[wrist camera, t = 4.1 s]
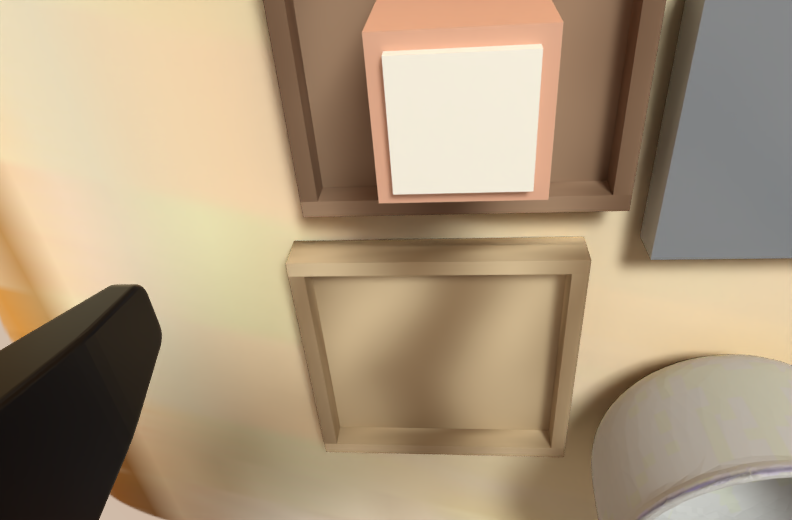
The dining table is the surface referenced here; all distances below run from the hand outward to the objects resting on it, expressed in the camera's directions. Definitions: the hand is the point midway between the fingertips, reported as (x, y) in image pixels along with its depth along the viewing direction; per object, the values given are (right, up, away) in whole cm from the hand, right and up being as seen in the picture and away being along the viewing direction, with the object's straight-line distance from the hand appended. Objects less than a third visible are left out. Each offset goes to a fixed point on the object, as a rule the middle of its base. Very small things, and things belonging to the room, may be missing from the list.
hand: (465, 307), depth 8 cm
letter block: (+1, +7, +10) cm, 12 cm away
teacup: (+14, -6, +19) cm, 25 cm away
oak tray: (+1, -3, +18) cm, 18 cm away
